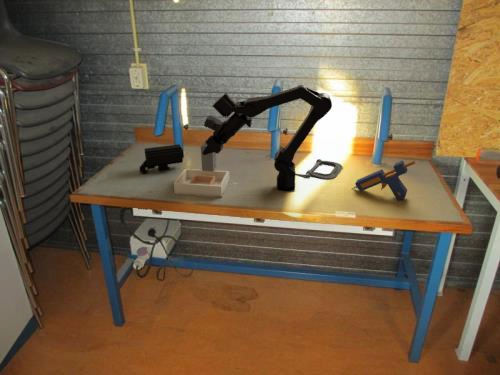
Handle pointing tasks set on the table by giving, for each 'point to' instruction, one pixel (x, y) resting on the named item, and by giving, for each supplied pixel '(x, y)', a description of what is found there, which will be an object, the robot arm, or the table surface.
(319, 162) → the c clamp
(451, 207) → the table surface
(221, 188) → the box
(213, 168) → the plug
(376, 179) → the glue gun
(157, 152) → the security camera
